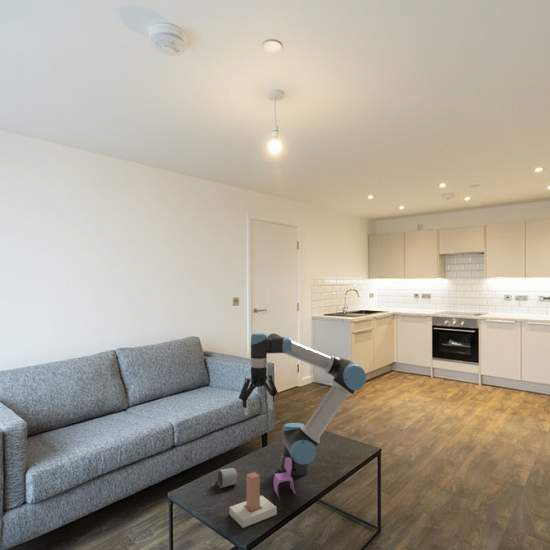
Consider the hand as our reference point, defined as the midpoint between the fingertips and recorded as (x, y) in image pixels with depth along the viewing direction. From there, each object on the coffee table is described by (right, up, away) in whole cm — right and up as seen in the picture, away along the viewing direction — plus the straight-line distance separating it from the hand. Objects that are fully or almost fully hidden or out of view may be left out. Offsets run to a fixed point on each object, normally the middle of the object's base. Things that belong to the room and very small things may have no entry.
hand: (258, 411), depth 187 cm
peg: (-1, -34, -24) cm, 42 cm away
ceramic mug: (-16, -35, +1) cm, 38 cm away
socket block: (-1, -34, -24) cm, 42 cm away
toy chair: (+12, -35, -6) cm, 37 cm away
